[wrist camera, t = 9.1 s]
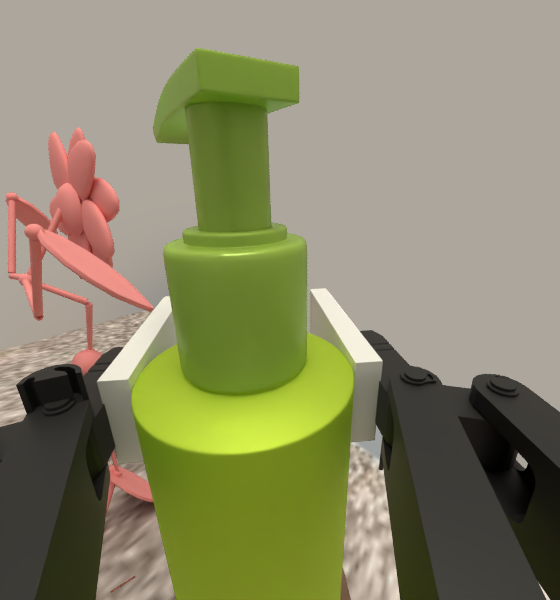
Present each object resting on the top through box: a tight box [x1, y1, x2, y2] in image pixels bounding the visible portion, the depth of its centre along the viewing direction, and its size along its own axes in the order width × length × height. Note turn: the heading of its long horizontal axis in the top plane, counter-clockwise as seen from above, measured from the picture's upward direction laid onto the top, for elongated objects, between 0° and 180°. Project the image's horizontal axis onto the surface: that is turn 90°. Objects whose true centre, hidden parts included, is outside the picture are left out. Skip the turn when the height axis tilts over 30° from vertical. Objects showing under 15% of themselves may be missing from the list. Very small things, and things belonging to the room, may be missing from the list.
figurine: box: [6, 128, 154, 592], centre depth 30 cm, size 15×26×35 cm, turn 49°
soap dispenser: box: [131, 48, 354, 600], centre depth 10 cm, size 6×7×20 cm
